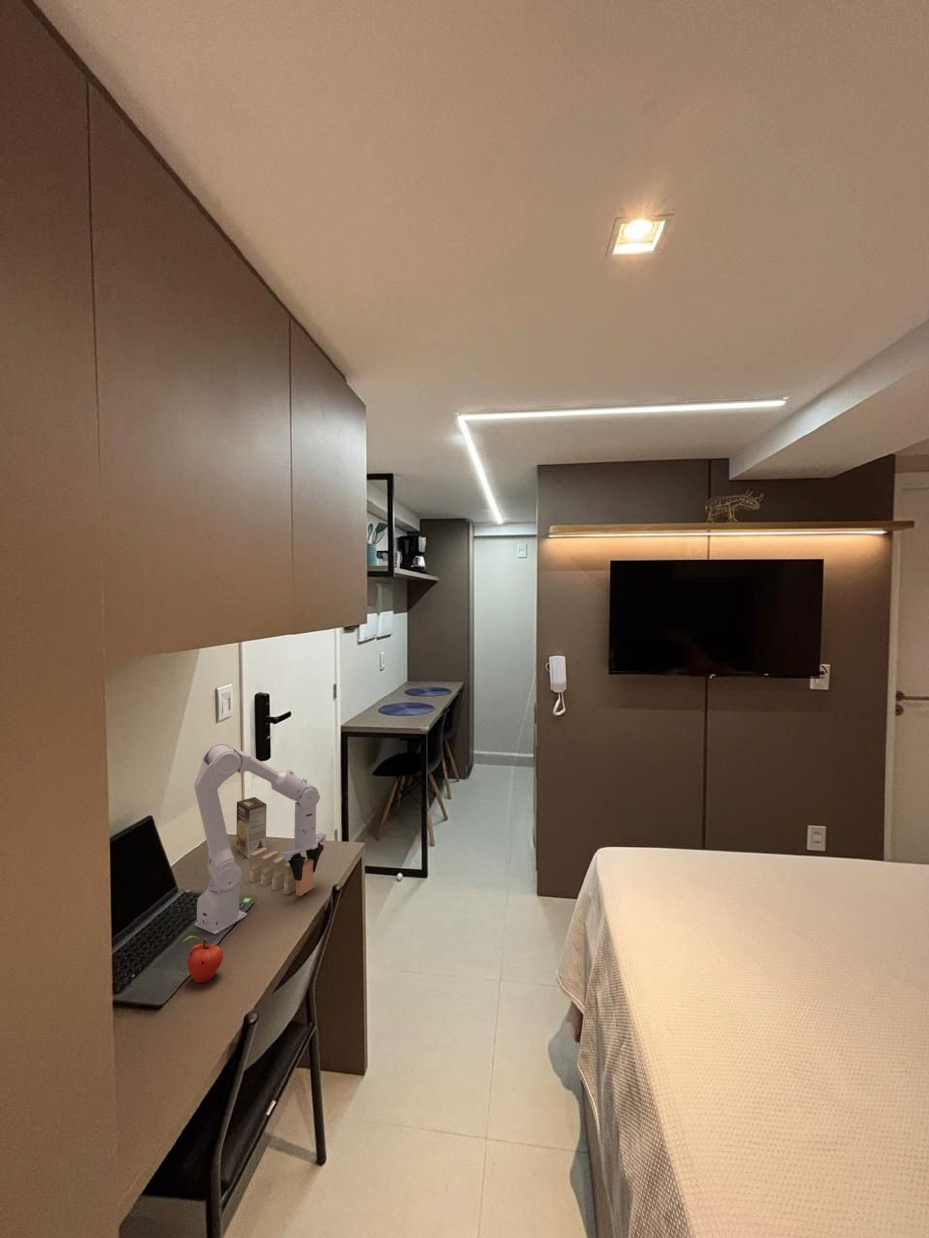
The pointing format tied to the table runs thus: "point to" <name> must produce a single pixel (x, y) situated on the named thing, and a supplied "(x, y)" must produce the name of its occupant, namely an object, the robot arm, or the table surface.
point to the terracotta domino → (305, 878)
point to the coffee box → (250, 826)
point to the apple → (204, 960)
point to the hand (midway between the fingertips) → (304, 875)
